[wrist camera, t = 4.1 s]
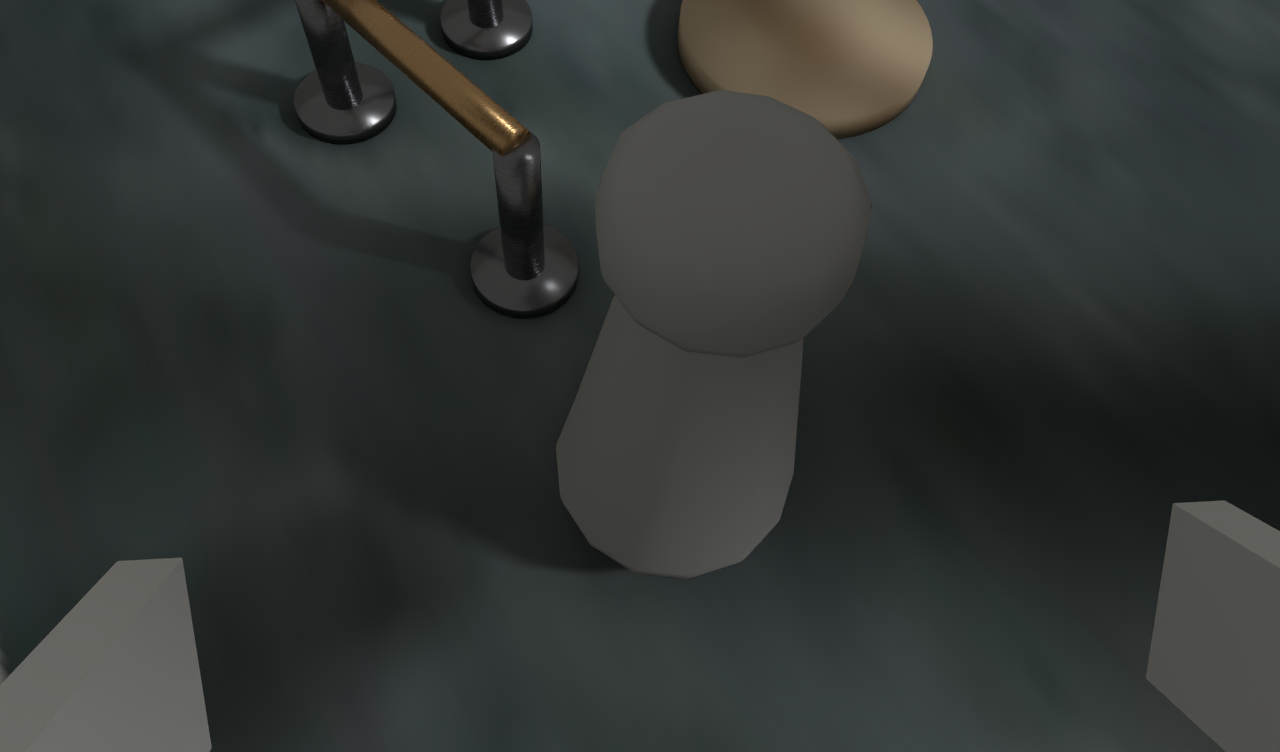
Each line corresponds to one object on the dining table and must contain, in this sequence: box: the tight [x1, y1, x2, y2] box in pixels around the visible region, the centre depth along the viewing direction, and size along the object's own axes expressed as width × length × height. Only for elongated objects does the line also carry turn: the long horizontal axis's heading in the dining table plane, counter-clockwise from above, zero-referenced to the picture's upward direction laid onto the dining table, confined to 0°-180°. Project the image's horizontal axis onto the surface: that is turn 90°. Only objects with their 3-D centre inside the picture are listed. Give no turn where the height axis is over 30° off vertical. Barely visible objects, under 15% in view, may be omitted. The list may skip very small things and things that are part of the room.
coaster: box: [677, 0, 933, 139], centre depth 33 cm, size 9×9×1 cm
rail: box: [294, 0, 578, 318], centre depth 28 cm, size 9×12×6 cm
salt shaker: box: [556, 90, 872, 579], centre depth 19 cm, size 6×6×13 cm
